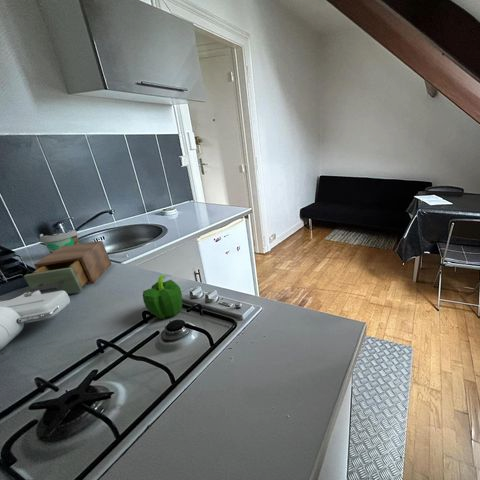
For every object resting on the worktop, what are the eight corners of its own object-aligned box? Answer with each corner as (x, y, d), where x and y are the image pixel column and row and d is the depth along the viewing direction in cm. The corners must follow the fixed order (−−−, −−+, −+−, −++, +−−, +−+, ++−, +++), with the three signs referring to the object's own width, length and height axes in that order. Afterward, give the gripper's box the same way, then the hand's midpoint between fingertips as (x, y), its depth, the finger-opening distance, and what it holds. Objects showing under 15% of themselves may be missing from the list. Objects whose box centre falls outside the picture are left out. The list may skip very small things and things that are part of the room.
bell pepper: (171, 325, 63) (159, 290, 59) (143, 322, 65) (130, 288, 61) (193, 304, 71) (184, 272, 67) (168, 301, 73) (157, 270, 69)
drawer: (73, 299, 75) (61, 275, 72) (26, 308, 72) (12, 283, 69) (100, 271, 91) (91, 250, 88) (62, 277, 88) (52, 256, 85)
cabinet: (93, 283, 85) (81, 256, 81) (48, 291, 82) (33, 264, 78) (111, 264, 98) (102, 240, 94) (73, 270, 95) (61, 246, 91)
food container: (41, 262, 103) (29, 239, 99) (51, 256, 108) (40, 233, 104) (78, 257, 106) (67, 234, 102) (86, 251, 111) (76, 229, 107)
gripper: (43, 304, 58) (76, 275, 70) (-81, 327, 53) (-22, 292, 65) (56, 326, 61) (85, 295, 73) (-62, 351, 55) (-9, 312, 67)
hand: (33, 293), depth 69 cm, fingers closed
